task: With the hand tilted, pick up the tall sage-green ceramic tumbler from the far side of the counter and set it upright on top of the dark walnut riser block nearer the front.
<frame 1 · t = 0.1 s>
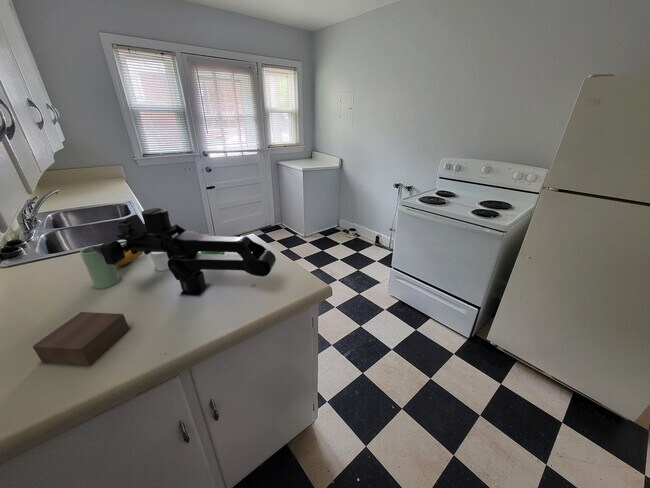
hand: (106, 242, 84), 17 cm above the countertop, tool horizontal, fingers open, 9 cm apart
tumbler: (107, 283, 93), on the countertop
riser: (88, 344, 67), on the countertop
white cup: (164, 267, 103), on the countertop
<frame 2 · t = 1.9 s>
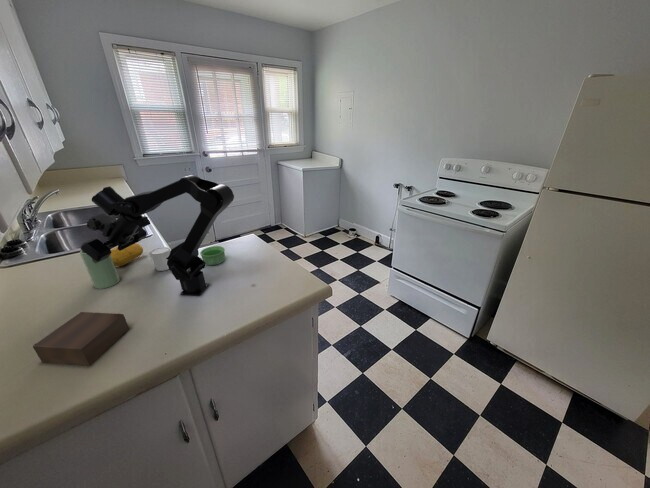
hand: (107, 255, 88), 11 cm above the countertop, tool tilted 45°, fingers open, 9 cm apart
nothing on the countertop moved.
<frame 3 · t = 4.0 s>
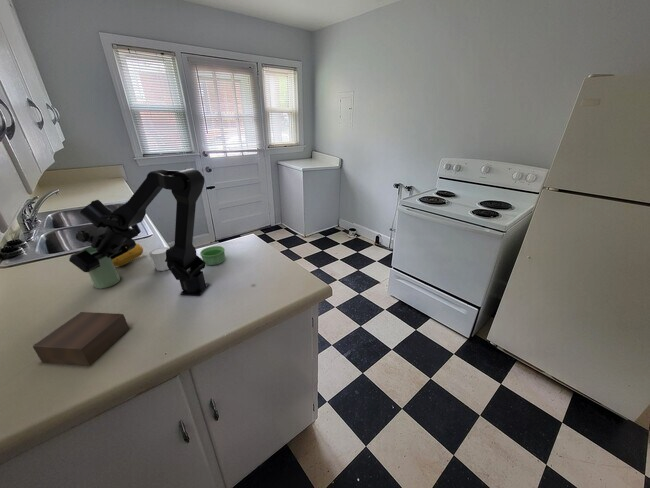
hand: (96, 265, 91), 7 cm above the countertop, tool tilted 45°, fingers closed on tumbler, 7 cm apart
tumbler: (107, 282, 93), on the countertop, touching gripper
everything else where it was.
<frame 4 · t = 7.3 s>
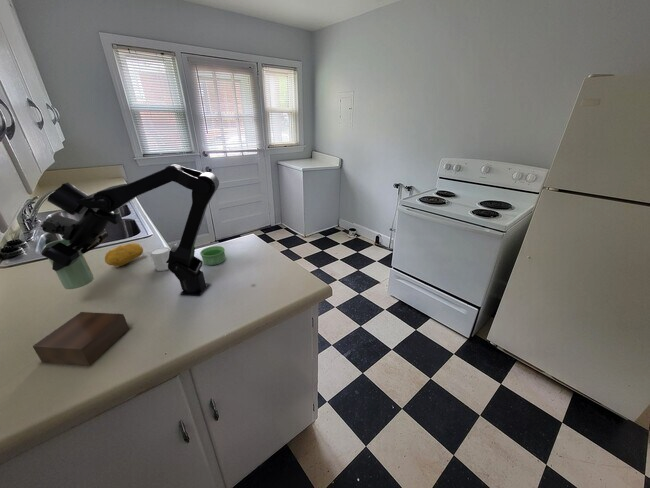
hand: (63, 263, 78), 13 cm above the countertop, tool tilted 45°, fingers closed on tumbler, 7 cm apart
tumbler: (79, 282, 81), point 7 cm above the countertop, touching gripper
everything else where it was.
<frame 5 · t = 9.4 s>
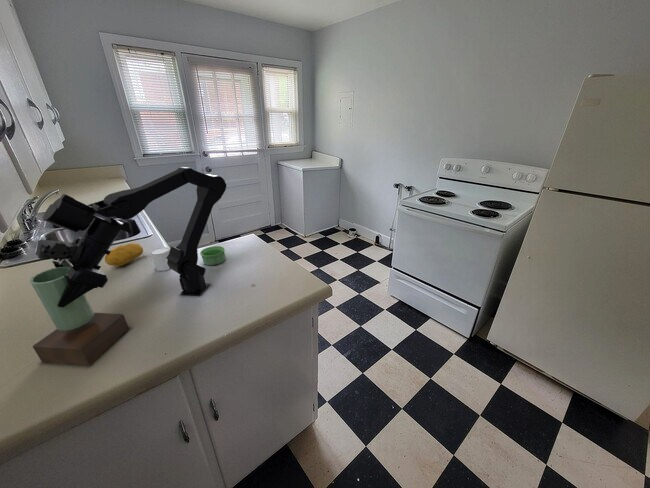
hand: (56, 300, 61), 13 cm above the countertop, tool tilted 45°, fingers closed on tumbler, 7 cm apart
tumbler: (75, 320, 65), point 7 cm above the countertop, touching gripper
everything else where it was.
when the fingers open (12 cm above the countertop, at t = 11.1 s): tumbler stays where it is, resting on riser.
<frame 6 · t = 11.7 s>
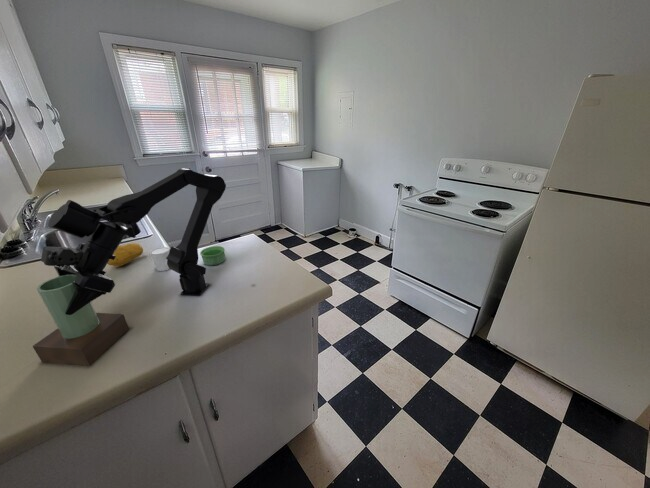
hand: (61, 307, 61), 12 cm above the countertop, tool tilted 45°, fingers open, 9 cm apart
tumbler: (81, 328, 65), point 5 cm above the countertop, touching riser
everything else where it was.
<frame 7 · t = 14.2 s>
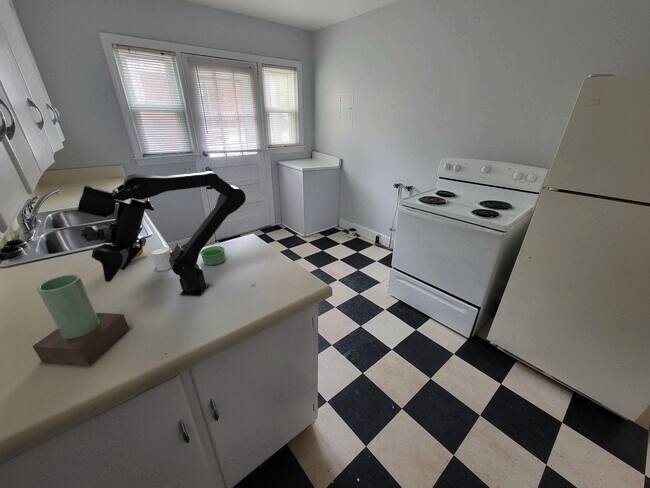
hand: (115, 275, 74), 12 cm above the countertop, tool tilted 25°, fingers open, 9 cm apart
nothing on the countertop moved.
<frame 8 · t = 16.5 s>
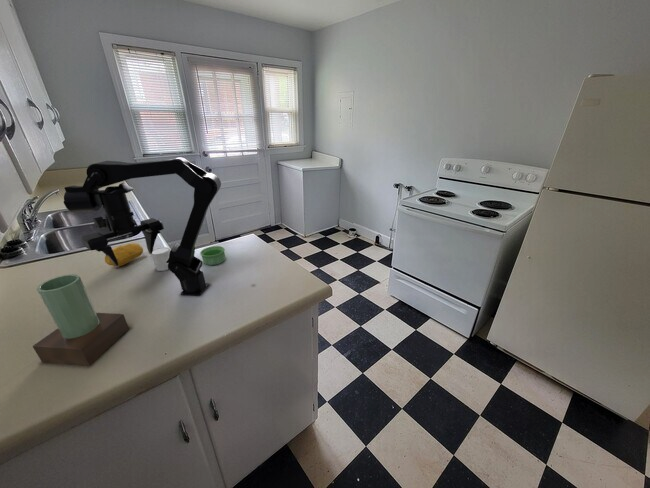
hand: (134, 259, 81), 13 cm above the countertop, tool pointing down, fingers open, 9 cm apart
nothing on the countertop moved.
at the end: tumbler inside the target area on the riser (0.2 cm from its centre), point 5.0 cm above the riser's base; tumbler tilted 0°; the gripper is holding nothing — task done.
